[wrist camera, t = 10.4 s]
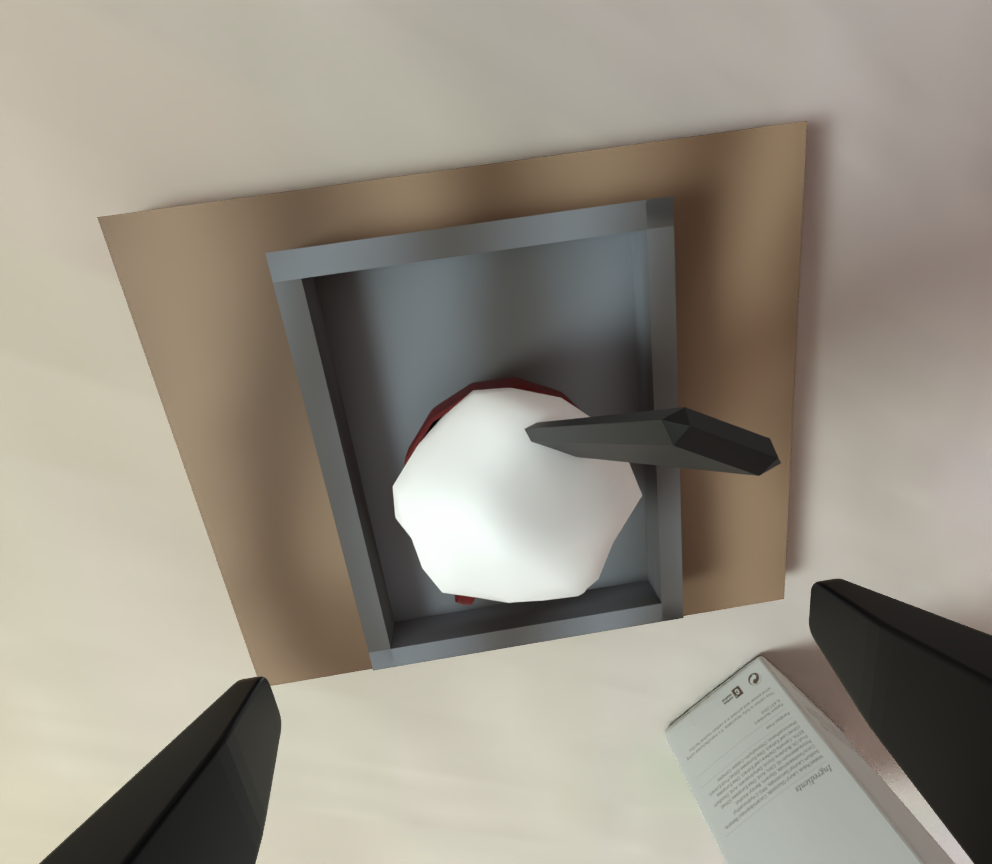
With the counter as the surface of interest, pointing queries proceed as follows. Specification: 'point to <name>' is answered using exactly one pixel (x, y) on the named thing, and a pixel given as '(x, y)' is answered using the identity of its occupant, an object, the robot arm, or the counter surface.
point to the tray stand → (471, 376)
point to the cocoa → (542, 485)
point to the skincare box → (789, 780)
